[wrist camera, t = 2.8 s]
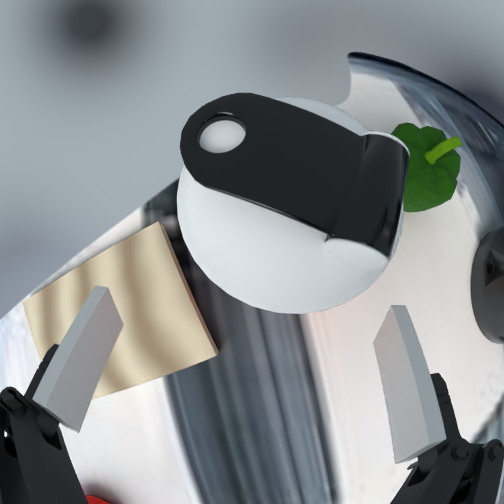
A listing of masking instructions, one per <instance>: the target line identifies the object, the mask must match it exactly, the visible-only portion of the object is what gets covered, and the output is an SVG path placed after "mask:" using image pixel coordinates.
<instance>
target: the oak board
mask: <svg viewBox="0 0 504 504" xmlns="http://www.w3.org/2000/svg"><path fill="white" fill-rule="evenodd" d="M95 286H104V287H108V288H109V291H110V293H111V296H112V298H113V301H114V303H115V305H116V308H117V310H118V313H119V315H120V317H121V320H122V322H123V324H124V326H123V328H122V330H121V332H120V334H119V337H118V339H117V341H116V343H115V345H114V347H113V350H112V352H111V354H110V356H109V359H108V361H107V363H106V365H105V368H104V370H103V372H102V375H101V377H100V380H99V382H98V384H97V387H96V389H95V392H94V394H93V397H92V399H95V398H99V397H102V396H105V395H109V394H112V393H115V392H118V391H121V390H125V389H128V388H131V387H134V386H137V385H140V384H143V383H146V382H148V381H151V380H154V379H157V378H160V377H163V376H165V375H168V374H171V373H173V372H176V371H179V370H181V369H184V368H187V367H189V366H192V365H194V364H197V363H199V362H202V361H204V360H207V359H209V358H212V357H214V356H217V354H218V353H219V351H218V349H217V347H216V345H215V343H214V341H213V339H212V337H211V335H210V333H209V330H208V328H207V326H206V324H205V322H204V320H203V318H202V315H201V313H200V311H199V309H198V307H197V304H196V302H195V300H194V298H193V295H192V293H191V291H190V288H189V286H188V284H187V281H186V279H185V277H184V274H183V272H182V270H181V267H180V265H179V262H178V260H177V258H176V255H175V253H174V250H173V248H172V245H171V243H170V240H169V238H168V235H167V232H166V230H165V227H164V225H163V224H162V223H160V222H159V221H158V222H156V223H154V224H152V225H150V226H148V227H146V228H145V229H143V230H141V231H139V232H137V233H135V234H134V235H132V236H130V237H128V238H126V239H125V240H123V241H121V242H119V243H117V244H116V245H114V246H112V247H110V248H109V249H107V250H105V251H103V252H102V253H100V254H98V255H97V256H95V257H93V258H91V259H90V260H88V261H86V262H85V263H83V264H81V265H80V266H78V267H77V268H75V269H73V270H72V271H70V272H68V273H67V274H65V275H64V276H62V277H60V278H59V279H57V280H56V281H54V282H53V283H51V284H50V285H48V286H46V287H45V288H43V289H42V290H40V291H39V292H37V293H36V294H34V295H33V296H31V297H30V298H28V299H27V300H26V301H24V302H23V305H24V309H25V313H26V317H27V320H28V324H29V327H30V330H31V334H32V337H33V340H34V343H35V346H36V349H37V352H38V355H39V357H40V360H41V362H42V361H43V358H44V356H45V354H46V352H47V351H48V350H49V349H50V348H51V347H52V346H53V345H54V344H58V345H60V343H61V342H62V340H63V338H64V336H65V334H66V333H67V331H68V329H69V328H70V326H71V324H72V323H73V321H74V319H75V317H76V316H77V314H78V313H79V311H80V309H81V308H82V306H83V304H84V303H85V301H86V300H87V298H88V297H89V295H90V294H91V292H92V290H93V289H94V287H95ZM92 399H91V400H92Z"/></svg>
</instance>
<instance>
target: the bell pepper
mask: <svg viewBox="0 0 504 504" xmlns="http://www.w3.org/2000/svg"><path fill="white" fill-rule="evenodd" d="M391 135H393V136H395V137H397V138H398V139H399V140H401V141H402V142H403V143H404V144H405V145H406V147H407V148H408V150H409V154H410V162H409V169H408V176H407V182H406V188H405V194H404V199H403V210H404V211H406V212H418V211H424V210H427V209H430V208H433V207H436V206H438V205H441V204H443V203H444V202H446V201H448V200H450V199H451V198H452V195H453V193H454V191H455V188H456V185H457V180H456V178H457V176H458V174H459V169H460V160H461V157H460V156H459V155H458V153H457V152H456V151H455V150H454V148H457V147H460V146H461V145H462V142H461V140H460V138H459V137H452V138H449V139H447V138H446V136H445V134H444V132H443V131H442V130H439V129H436V128H433V127H430V126H426V127H423V128H421V129H420V128H418V127H417V126H415V125H414V124H411V123H403V124H399V125H398V126H397V127H396V128H395V130H394V131H393V132H392V133H391Z"/></svg>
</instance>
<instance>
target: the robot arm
mask: <svg viewBox="0 0 504 504" xmlns="http://www.w3.org/2000/svg"><path fill="white" fill-rule="evenodd" d="M471 297H472V305H473V311H474V315H475V318H476V321H477V324H478V326H479V328H480V330H481V332H482V333H483V335H484V336H485V337H486V338H487V339H488V340H490V341H491V342H494V343H498V344H504V227H501V228H499V229H496V230H493V231H491V232H490V233H488V234H487V235H486V236H485V238H484V239H483V240H482V242H481V243H480V245H479V247H478V250H477V252H476V255H475V259H474V263H473V269H472V277H471ZM123 326H124V324H123V322H122V320H121V317H120V315H119V313H118V310H117V308H116V305H115V303H114V301H113V298H112V296H111V293H110V291H109V288H108V287H104V286H95V287H94V289H93V290H92V292H91V294H90V295H89V297H88V298H87V300H86V301H85V303H84V304H83V306H82V308H81V309H80V311H79V313H78V314H77V316H76V317H75V319H74V321H73V323H72V324H71V326H70V328H69V329H68V331H67V333H66V334H65V336H64V338H63V340H62V342H61V343H60V345H58V344H54V345H53V346H52V347H51V348H50V349H49V350H48V351H47V352H46V354H45V356H44V358H43V361H42V362H41V363H40V365H39V369H37V371H36V373H35V375H34V377H33V379H32V381H31V383H30V385H29V387H28V389H27V391H26V393H25V395H24V396H23V395H22V394H21V393H20V392H19V391H18V390H16V389H15V388H14V387H6V388H5V389H3V390H2V392H1V393H0V504H89V502H88V500H87V498H86V496H85V494H84V492H83V489H82V487H81V485H80V483H79V480H78V478H77V475H76V473H75V470H74V468H73V465H72V462H71V460H70V457H69V454H68V451H67V448H66V445H65V442H64V439H63V436H62V432H61V430H60V428H59V426H58V425H59V423H61V424H62V425H64V426H65V427H66V428H69V429H71V430H73V431H75V432H78V433H79V432H80V429H81V426H82V423H83V420H84V418H85V415H86V412H87V410H88V407H89V405H90V402H91V399H92V397H93V394H94V392H95V389H96V387H97V384H98V382H99V380H100V377H101V375H102V372H103V370H104V368H105V365H106V363H107V361H108V359H109V356H110V354H111V352H112V350H113V347H114V345H115V343H116V341H117V339H118V337H119V334H120V332H121V330H122V328H123ZM373 344H374V349H375V353H376V357H377V361H378V366H379V370H380V375H381V380H382V385H383V390H384V395H385V400H386V406H387V412H388V417H389V424H390V430H391V437H392V444H393V452H394V460H395V464H397V463H402V462H406V461H410V460H412V459H414V458H416V457H418V461H417V462H415V463H413V464H411V465H410V466H409V467H408V468H407V469H408V470H409V469H412V468H413V469H412V471H411V473H410V474H409V476H408V477H407V479H406V481H405V482H404V484H403V485H402V487H401V488H400V490H399V491H398V493H397V494H396V496H395V497H394V499H393V500H392V502H391V503H390V504H495V500H496V496H497V492H498V487H499V483H500V478H501V472H502V466H503V460H504V446H503V444H502V442H501V441H500V440H498V439H493V440H491V441H490V442H488V443H486V444H471V443H469V442H468V441H467V440H465V439H463V438H462V437H461V436H460V433H459V430H458V426H457V422H456V418H455V414H454V410H453V406H452V403H451V399H450V396H449V395H448V393H449V392H448V389H447V386H446V382H445V381H444V379H443V378H442V377H441V375H440V374H439V373H435V374H430V373H429V369H428V366H427V363H426V360H425V357H424V354H423V351H422V348H421V345H420V343H419V340H418V337H417V334H416V332H415V329H414V326H413V324H412V321H411V318H410V316H409V313H408V311H407V308H406V306H405V305H391V307H390V309H389V311H388V314H387V316H386V318H385V320H384V322H383V324H382V326H381V328H380V330H379V332H378V334H377V336H376V338H375V340H374V342H373ZM4 431H5V432H7V437H5V436H4Z"/></svg>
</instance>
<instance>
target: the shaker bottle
mask: <svg viewBox="0 0 504 504" xmlns="http://www.w3.org/2000/svg"><path fill="white" fill-rule="evenodd" d="M180 150H181V155H182V158H183V161H184V164H185V165H184V167H183V170H182V173H181V175H180V180H179V186H178V193H177V209H178V220H179V224H180V228H181V231H182V235H183V239H184V241H185V243H186V245H187V247H188V249H189V251H190V253H191V255H192V257H193V259H194V260H195V262H196V263H197V264H198V265H199V267H200V268H201V269H202V270H203V271H204V273H205V274H206V275H207V276H208V278H209V279H210V280H211V281H213V282H214V283H215V284H216V285H218V286H219V287H220V288H221V289H223V290H224V291H225V292H227V293H228V294H229V295H231V296H233V297H235V298H237V299H239V300H241V301H243V302H245V303H247V304H249V305H251V306H253V307H257V308H261V309H265V310H268V311H272V312H276V313H294V314H304V313H310V312H317V311H323V310H327V309H330V308H332V307H335V306H337V305H340V304H343V303H345V302H348V301H349V300H351V299H352V298H354V297H355V296H357V295H358V294H360V293H361V292H363V291H364V290H366V289H367V288H368V287H369V286H370V285H371V284H372V283H373V282H374V281H375V280H376V279H377V278H378V277H379V276H380V275H381V274H382V273H383V271H384V270H385V268H386V266H387V265H388V263H389V261H390V260H391V258H392V256H393V255H394V253H395V250H396V247H397V244H398V241H399V238H400V235H401V231H402V223H403V214H404V210H403V199H404V194H405V188H406V182H407V176H408V169H409V162H410V154H409V150H408V148H407V147H406V145H405V144H404V143H403V142H402V141H401V140H399V139H398V138H397V137H395V136H393V135H391V134H388V133H385V132H380V131H369V130H368V129H367V128H366V127H365V126H363V125H362V124H361V123H360V122H359V121H358V120H356V119H355V118H353V117H352V116H350V115H349V114H347V113H345V112H344V111H342V110H340V109H338V108H335V107H333V106H331V105H328V104H326V103H323V102H319V101H315V100H311V99H307V98H296V97H280V98H269V97H265V96H261V95H257V94H253V93H235V94H230V95H226V96H222V97H220V98H218V99H216V100H213V101H211V102H209V103H207V104H205V105H204V106H202V107H201V108H200V109H198V110H197V111H196V112H195V113H194V114H193V115H191V116H190V117H189V119H188V121H187V123H186V124H185V126H184V128H183V130H182V134H181V141H180Z"/></svg>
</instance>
